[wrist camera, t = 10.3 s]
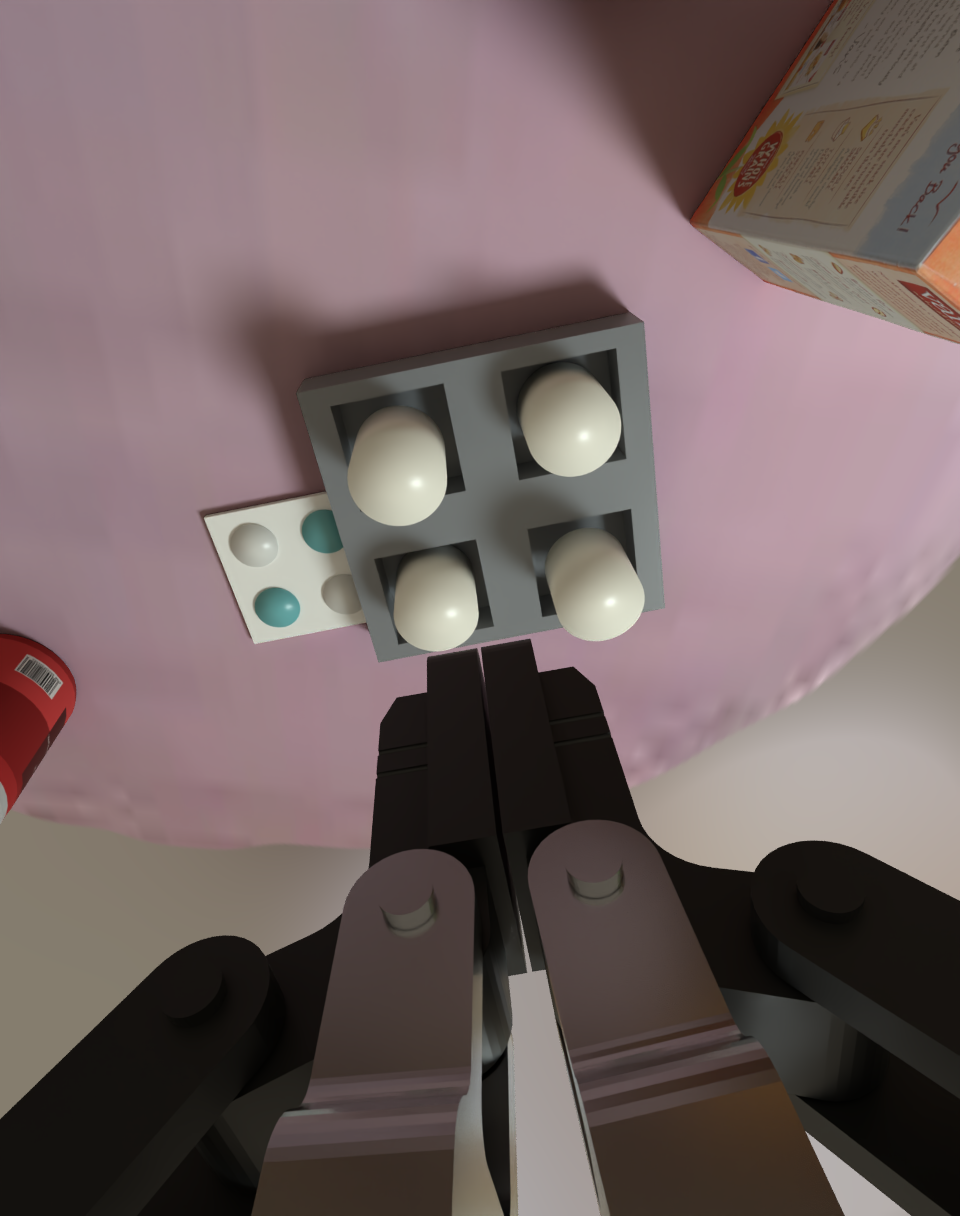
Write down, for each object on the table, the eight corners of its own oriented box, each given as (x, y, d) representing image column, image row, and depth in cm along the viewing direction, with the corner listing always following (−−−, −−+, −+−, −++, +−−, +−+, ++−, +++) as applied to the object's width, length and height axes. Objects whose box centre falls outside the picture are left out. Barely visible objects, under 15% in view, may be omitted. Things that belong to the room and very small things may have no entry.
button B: (524, 456, 44) (533, 484, 40) (510, 371, 41) (519, 393, 37) (607, 439, 44) (625, 466, 40) (598, 354, 41) (616, 373, 37)
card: (255, 640, 50) (254, 645, 49) (205, 515, 45) (203, 519, 45) (390, 614, 50) (390, 619, 49) (353, 485, 45) (352, 489, 45)
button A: (368, 499, 42) (361, 534, 38) (344, 415, 40) (335, 443, 36) (453, 483, 42) (455, 515, 38) (434, 397, 40) (435, 422, 36)
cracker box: (769, 287, 41) (1040, 382, 23) (682, 221, 39) (903, 267, 21) (974, 9, 35) (1545, -156, 17) (884, -83, 34) (1419, -376, 15)
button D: (550, 607, 47) (562, 648, 43) (539, 536, 44) (550, 573, 40) (628, 592, 46) (647, 632, 42) (621, 520, 44) (641, 555, 40)
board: (381, 636, 50) (378, 662, 48) (304, 379, 42) (296, 393, 39) (652, 585, 50) (664, 608, 47) (630, 312, 41) (644, 321, 39)
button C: (406, 617, 49) (404, 658, 45) (388, 550, 46) (384, 587, 42) (480, 603, 48) (485, 642, 44) (466, 535, 46) (469, 570, 42)
